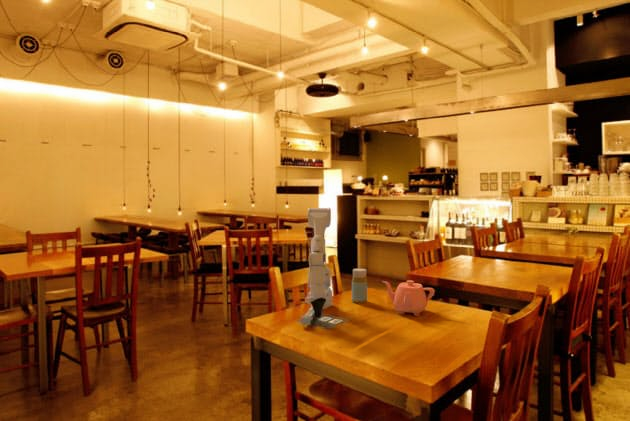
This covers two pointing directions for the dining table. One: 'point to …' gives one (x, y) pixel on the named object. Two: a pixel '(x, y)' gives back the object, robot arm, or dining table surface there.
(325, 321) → the label
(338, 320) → the label
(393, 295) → the teapot
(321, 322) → the plate
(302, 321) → the swing arm
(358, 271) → the bottle
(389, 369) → the dining table surface
